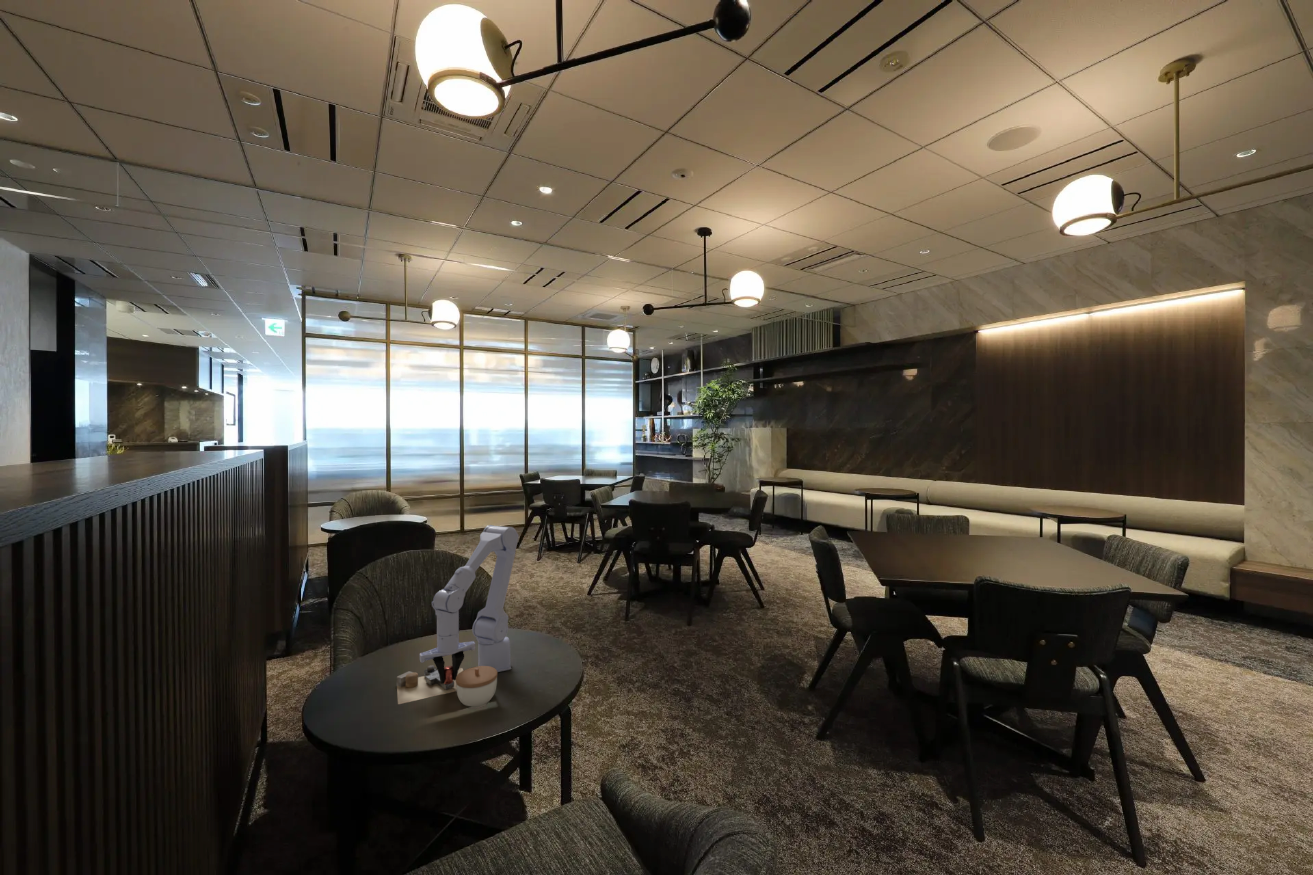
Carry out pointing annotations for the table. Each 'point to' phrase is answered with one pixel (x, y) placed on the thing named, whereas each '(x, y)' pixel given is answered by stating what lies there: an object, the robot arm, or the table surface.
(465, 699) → the lidded jar
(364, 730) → the table surface
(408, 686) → the cork
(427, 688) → the board
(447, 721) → the table surface
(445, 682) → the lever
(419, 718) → the table surface
